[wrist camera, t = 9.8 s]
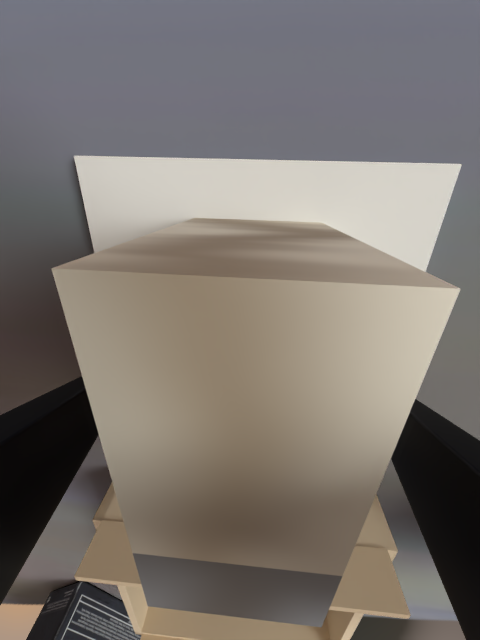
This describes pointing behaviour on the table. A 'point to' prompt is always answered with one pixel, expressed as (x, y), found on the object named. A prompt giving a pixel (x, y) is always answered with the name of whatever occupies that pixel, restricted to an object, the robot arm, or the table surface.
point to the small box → (82, 616)
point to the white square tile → (270, 197)
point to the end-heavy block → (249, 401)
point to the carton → (242, 633)
